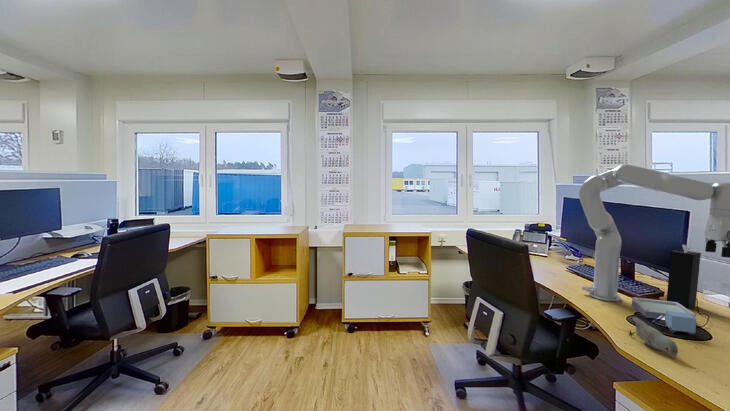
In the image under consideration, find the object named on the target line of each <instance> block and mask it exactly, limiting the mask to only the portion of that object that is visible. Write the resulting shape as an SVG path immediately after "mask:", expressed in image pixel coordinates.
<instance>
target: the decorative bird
mask: <svg viewBox="0 0 730 411" xmlns="http://www.w3.org/2000/svg"><path fill="white" fill-rule="evenodd" d="M632 321H633V322H634V323H635V331H633V332H631V331H632V330H631V329H629V336H628V337H631V338H632V337H635V334H636V336H637V337H638V338H640V339H641V340H642V341H643V342H644V343H645V344H647V346H649V347H651V348H653V349H654V350H655V349H656V350H658V351H665V352H666V353H667V355H668V356H669V357H670V358H672V359H673V360H676V358H677V354H678V353H679V352H678V351H679V350H678V345H677V343H676V342H675V341H674V340H673V339H671V338H670V337H669V336H666V335H665V334H664V333H662V332H660V331H659V330H658V329H657V328H654V327H653V326H651V325H649V324H647V323H646V322H644V321H643V320H642V319H640V318H638V317H636V316H633V317H632Z"/></svg>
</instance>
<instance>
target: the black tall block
mask: <svg viewBox="0 0 730 411" xmlns="http://www.w3.org/2000/svg"><path fill="white" fill-rule="evenodd" d="M681 246H682V250H684V252H681V251H677V250H678V249H674V250H670V252H669V253H670V254H669V255H670V260H669V268H668V269H669V270H668V280H667V291H666V301H671V302H678V303H679V304H681V305H682V306H684V307H685V308H687V309H688V310H690V309H691V308H694V307H696V305H697V294H698V293H697V292H698V285H699V284H698V283H699V273H700V265H701V264H700V263H701V256H702V255H701V254H702V253H701V252H696V251H689V250H690V249H691V248H692V246H690V245H686V244H684V243H683V244H682V245H681Z"/></svg>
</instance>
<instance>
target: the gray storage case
mask: <svg viewBox="0 0 730 411" xmlns="http://www.w3.org/2000/svg"><path fill="white" fill-rule="evenodd" d="M665 322H666V324H667V326H668V328H669V329H668V331H669V330H672V331H678V332H684V333H686V334H688V333H691V334H696V335H697V331H696V329H697V318H695V317H693V316H692V315H690V314H689V313H681V312H672V311H666V315H665V321H664V323H665Z"/></svg>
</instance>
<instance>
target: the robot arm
mask: <svg viewBox="0 0 730 411" xmlns="http://www.w3.org/2000/svg"><path fill="white" fill-rule="evenodd" d="M624 184H628V185H631V186H635V187H639V188H644V189H647V190H651V191H655V192H660V193H661V192H662V193H665V194H666V193H667V194H671V195H674V196H679V197H683V198H687V199H691V200H693V201H694V200H695V201H706V200H710V203H709V204H710V205H709V206H710V207H709V215H708V218H707V221H706V224H705V228H704V229H705V230H704V238H705V250H704V251H705V252H706V253H717V244H718V243H717V242H721V243H722V247H721V257H723V258H730V182H717V183H716V182H715V183H714V182H705V181H700V180H696V179H691V178H686V177H683V176H678V175H675V174H670V173H667V172H664V171H660V170H655V169H651V168H647V167H646V168H645V167H641V166H637V165H632V164H625V163H623V164H620V165H618V166H617V167H615V168H613V169H610V170H608V171H605V172H603V173H600V174H595V175H592V176H590V177H588V178H587V179H586V180H585V181H584V182H582V184H581V186H580V188H579V192H578V198H579V202H580V204H581V206H582V209H583V212H584V215H585V218H586V220H587V223H588V226H589V227H590V228H591V229H592V230H593V232H594V235H595V236H596V238H597V239H596V241H595V251H594V252H595V255H594V271H593V272H594V273H593V284H591V286H586V285H585V286H584V285H582V286H581V291H585V292H587V293H588V295H589V296H590V297H592V298H594V299H597V300H601V301H606V302H620V301H621V300H622V297H621V296H620V295H618V287H619V272H620V262H621V261H620V259H621V258H620V257H621V248H622V237H621V235H620V231H619V229H618V228H617V225H616V223H615V221H614V218H613V216H612V215H611V214H610V213H609V212H607V210H606V208H605V205H604V202H603V201H602V198H601V193H602V192H605V191H608V190H610V189H614V188H616V187H619V186H622V185H624Z"/></svg>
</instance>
